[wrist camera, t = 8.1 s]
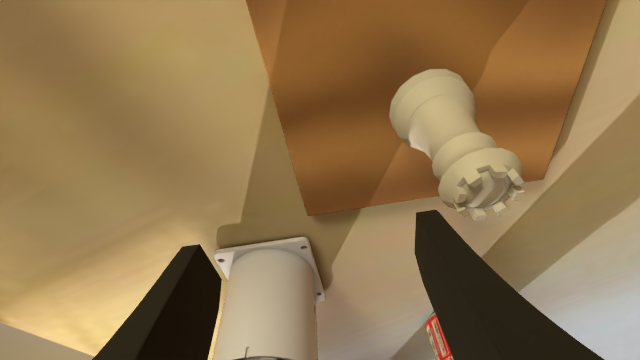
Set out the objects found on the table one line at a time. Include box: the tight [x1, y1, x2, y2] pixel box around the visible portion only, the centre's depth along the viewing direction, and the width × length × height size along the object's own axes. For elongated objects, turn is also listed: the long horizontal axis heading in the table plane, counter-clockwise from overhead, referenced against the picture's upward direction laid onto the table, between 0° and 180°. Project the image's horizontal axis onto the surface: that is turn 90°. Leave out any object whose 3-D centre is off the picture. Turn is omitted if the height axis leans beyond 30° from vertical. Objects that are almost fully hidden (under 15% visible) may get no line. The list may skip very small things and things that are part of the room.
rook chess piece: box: [389, 69, 525, 220], centre depth 15 cm, size 4×4×8 cm
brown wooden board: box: [246, 0, 607, 216], centre depth 19 cm, size 15×17×1 cm
